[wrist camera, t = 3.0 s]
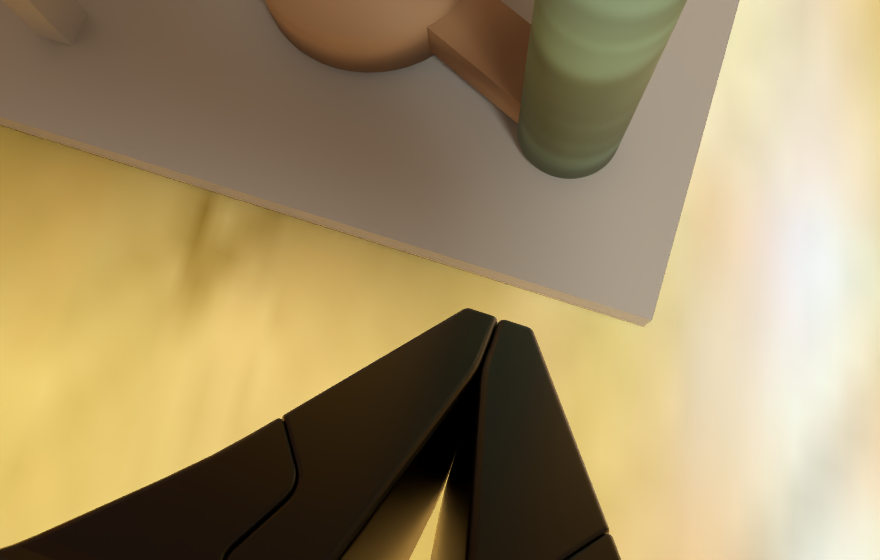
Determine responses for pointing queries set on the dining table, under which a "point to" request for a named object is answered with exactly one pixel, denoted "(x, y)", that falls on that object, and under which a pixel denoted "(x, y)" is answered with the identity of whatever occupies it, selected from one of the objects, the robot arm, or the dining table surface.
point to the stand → (367, 138)
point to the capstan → (508, 60)
